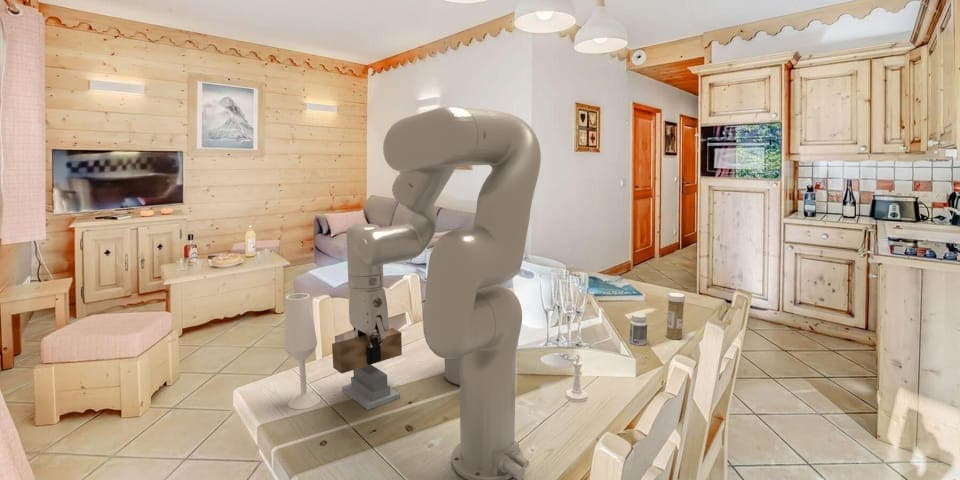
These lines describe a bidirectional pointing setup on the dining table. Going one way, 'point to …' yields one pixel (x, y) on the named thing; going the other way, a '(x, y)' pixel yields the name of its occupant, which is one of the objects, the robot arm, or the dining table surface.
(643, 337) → the pill bottle
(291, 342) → the champagne flute
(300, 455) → the dining table surface
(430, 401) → the dining table surface
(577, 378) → the chess piece
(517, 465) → the robot arm
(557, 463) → the dining table surface
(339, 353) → the walnut block
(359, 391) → the block
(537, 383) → the dining table surface
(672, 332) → the sprinkles bottle
